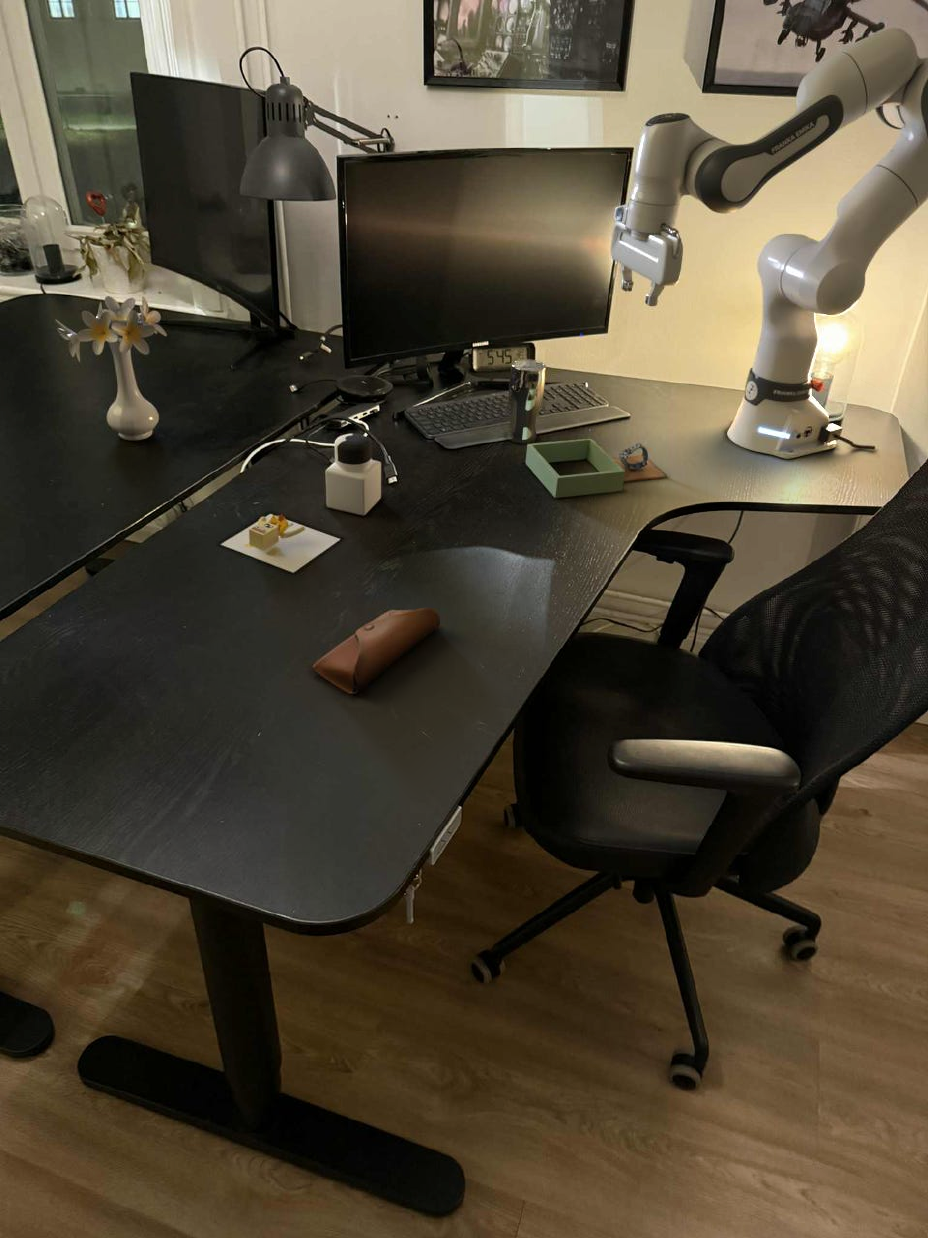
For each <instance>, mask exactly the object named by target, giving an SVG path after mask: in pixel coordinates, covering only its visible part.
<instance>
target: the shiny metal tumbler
mask: <svg viewBox="0 0 928 1238" xmlns="http://www.w3.org/2000/svg"><path fill="white" fill-rule="evenodd" d="M546 371H547V366H546V364H545V363H543V362H542V361H540V360H536V359H532V358H531V359H529V358H522V359H521V358H520V359H516V360H514V361H513V362H512V363H511V370H510V376H509V382H508V403H509V404H508V405H509V425H508V429H507V432H506V438H507V439H508V440H509V441H511V442H513V443H517V444H533V443H535V441H536V440H537V438H538V436H537V435H538V434H537V420H538V417H539V412H540V409H541V406H542V402H543V398H544V395H545V388H546Z"/></svg>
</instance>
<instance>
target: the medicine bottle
mask: <svg viewBox="0 0 928 1238" xmlns="http://www.w3.org/2000/svg"><path fill="white" fill-rule="evenodd" d="M372 444H373V443H372V441H371V439H370V438H369V437H368V436H366V435H364V434H359V433H346V434H342V435H340V436H338V437H337V438H336V439H335V441H334V462H333V463H332V464H330V465H329V467H327V469H325V499H326V508H328V509H332V510H336V511H341V512H346V513H348V514H349V513H350V514H354V515H357V516H362V517H364V516H366V515H367V514H368V513H369V512H370V511H371V509H373V507H374V506H375V505H376V504H377V503H378V502H379V501H380V500H381V498H382V462H381V461H378V460H374V459H373V458H372V457H373V456H372V454H373V453H372V451H373V450H372Z"/></svg>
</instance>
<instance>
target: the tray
mask: <svg viewBox="0 0 928 1238" xmlns="http://www.w3.org/2000/svg"><path fill="white" fill-rule="evenodd" d="M526 444H527V445H526V453H525V465H526V466H527V468H529V469H530V470H531V472H532V474H533V475H535V476H536V478H537V479H538V480H539V481H540V482H541V483H542V485H543V486H544V487H545V488H546V490H548V492H549V493H550V494H551V495H552V496H553V497H554V498H555V499H559V498H569V497H578V496H587V495H597V494H605V493H614V492H622V491H623V487H624V486H623V485H624V482H623V481H624V476H625V470H624V469H623V468H622V467H620V466H619V465H618V464H617V463H616V462H615V461H614V460H613V458H612V457H611V456H610V455H609V454H608V453H607V452H606V451H605V450H604V449H603V448H602V447H601V446H600V445H599V444H598V443H597V442H596V441H595V440H594V439H593V438H582V439H580V438H579V439H571V440H559V441H548V442H536V443H535V442H534V443H526ZM579 460H580V461H581V460H587V461H588V462H589V463H590V464H591V465H592V466H593V467H594V468H595V469H596V470H597V471H595V472H586V473H585V472H584V473H576V474H565V475H560V474H558V473H557V471H556V470H555V469H554V468H553V466H551V465H550V464H551V463H558V462H560V463H561V462H570V461H579Z"/></svg>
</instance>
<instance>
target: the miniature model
mask: <svg viewBox="0 0 928 1238" xmlns="http://www.w3.org/2000/svg"><path fill="white" fill-rule="evenodd" d="M340 540H341V538H338V537H336V536H333V535H330V534H328V533H324V532H321V531H319V530H316V529H313V528H311V527H307V526H305V525H302V524H299V523H297V522H294V521H291V520H288V519H286V517H285V516H284V515H283V514H281V513H280V515H278V514H277V515H274V514H273V513H269V514H268V515H266V516H261V517H260V518H259V519H258V521H256V522H254V523H253V524H251V525H249V526H248V527H247V528H245V529H243V530H241V531H240V532H239V533H237V534H235V535H233V536H232V537H230V538H229V539H227V540H225V541H223V542H222V543H220V545H221V546H223V547H225V548H229V549H231V550H234V551H236V552H239V553H242V554H243V555H246V556H250V557H252V558H254V559H256V560H260V561H261V562H265V563H267V564H270V565H272V566H275V567H276V568H277V567H278V568H279V569H283V570H285V571H287V572H291V573H295V572H297V571H298V570H299V569H301V568H302V567H304V566H305V565H306V564H308V563H309V562H310V561H312V560H314V559H316V558H317V557H318V556H319V555H320V554H322V553H324V552H325V551H327V549H329V548H331V547H332V546H333V545H335V544H337V542H339V541H340Z"/></svg>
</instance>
